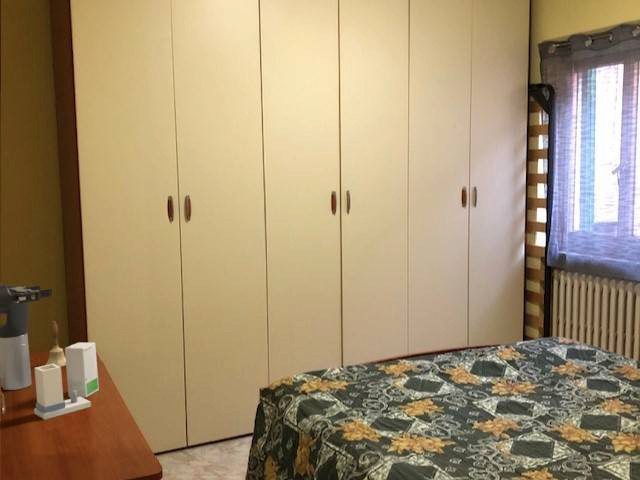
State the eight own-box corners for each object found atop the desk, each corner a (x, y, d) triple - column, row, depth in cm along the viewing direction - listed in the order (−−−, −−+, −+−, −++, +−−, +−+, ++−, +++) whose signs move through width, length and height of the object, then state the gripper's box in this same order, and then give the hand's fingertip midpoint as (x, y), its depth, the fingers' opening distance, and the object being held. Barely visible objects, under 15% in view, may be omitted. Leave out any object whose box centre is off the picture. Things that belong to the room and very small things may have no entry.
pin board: (44, 419, 202) (43, 402, 202) (34, 413, 207) (33, 397, 207) (91, 406, 212) (89, 390, 211) (80, 401, 217) (79, 385, 216)
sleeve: (44, 412, 203) (41, 371, 201) (36, 408, 207) (33, 367, 205) (65, 407, 207) (62, 367, 205) (56, 402, 211) (53, 363, 210)
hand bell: (50, 369, 252) (47, 324, 250) (41, 364, 258) (38, 321, 256) (73, 364, 257) (70, 320, 255) (64, 359, 263) (60, 317, 261)
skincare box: (86, 398, 219) (82, 349, 217) (66, 397, 221) (63, 348, 219) (99, 389, 227) (96, 341, 226) (80, 388, 229) (77, 341, 227)
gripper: (-3, 289, 198) (54, 280, 210) (-21, 283, 209) (34, 275, 220) (0, 316, 199) (56, 305, 211) (-19, 309, 210) (36, 299, 221)
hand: (45, 290), depth 215 cm, fingers open, 8 cm apart
